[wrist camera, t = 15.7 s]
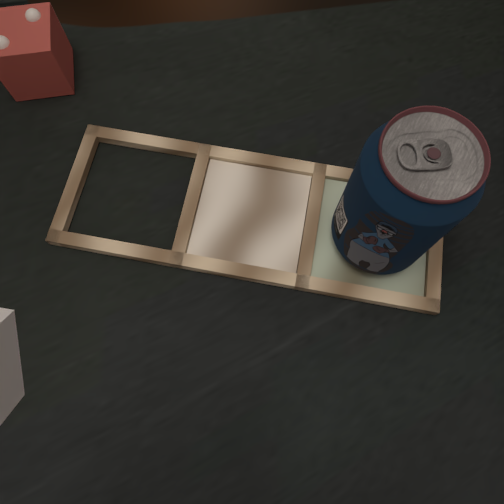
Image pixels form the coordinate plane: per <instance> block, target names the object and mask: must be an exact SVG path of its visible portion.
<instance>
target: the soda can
mask: <svg viewBox="0 0 504 504" xmlns="http://www.w3.org/2000/svg"><path fill="white" fill-rule="evenodd" d="M490 165H491V156H490V150H489V147H488V144H487V142H486V140H485V138H484V136H483V135H482V133H481V132H480V131H479V129H478V128H477V127H476V126H475V125H474V124H473V123H472V122H471V121H469V120H468V119H467V118H465V117H464V116H462V115H460V114H459V113H457V112H455V111H452V110H450V109H447V108H444V107H439V106H418V107H413V108H410V109H407V110H405V111H403V112H401V113H399V114H397V115H396V116H395V117H393V118H392V119H391V120H390V121H389V122H387V123H385V124H383V125H382V126H380V127H379V128H378V129H376V130H375V131H374V132H373V133H372V134H371V135H370V137H369V138H368V139H367V141H366V143H365V145H364V147H363V149H362V151H361V153H360V156H359V158H358V160H357V162H356V165H355V167H354V169H353V171H352V174H351V176H350V178H349V180H348V183H347V185H346V187H345V189H344V192H343V194H342V196H341V198H340V200H339V203H338V205H337V207H336V209H335V212H334V214H333V218H332V224H331V230H332V237H333V240H334V243H335V245H336V247H337V249H338V251H339V252H340V254H341V255H342V256H343V257H344V258H345V259H346V260H347V261H348V262H349V263H350V264H351V265H353V266H354V267H356V268H358V269H360V270H362V271H365V272H368V273H371V274H378V275H387V274H393V273H397V272H400V271H402V270H404V269H406V268H408V267H409V266H411V265H412V264H413V263H414V262H415V261H416V260H418V259H419V258H420V257H421V256H422V255H423V254H424V253H425V252H427V251H428V250H429V249H430V248H431V247H432V246H433V245H434V244H436V243H437V242H438V241H439V240H440V239H441V238H442V237H443V236H445V235H446V234H447V233H448V232H449V231H450V230H451V229H453V228H454V227H455V226H456V225H457V224H458V223H459V222H460V221H462V220H463V219H464V218H465V217H466V216H467V215H468V214H469V213H471V212H472V211H473V210H474V208H475V207H476V206H477V205H478V203H479V201H480V200H481V198H482V195H483V192H484V189H485V183H486V178H487V176H488V174H489V170H490Z"/></svg>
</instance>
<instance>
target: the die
mask: <svg viewBox="0 0 504 504" xmlns="http://www.w3.org/2000/svg"><path fill="white" fill-rule="evenodd" d="M0 81H1V82H2V83H3V85H4V86H5V87H6V89H7V90H8V91H9V93H10V94H11V95H12V97H13V98H14V99H15V101H16V102H17V101H25V100H33V99H41V98H49V97H56V96H64V95H72V94H75V92H74V66H73V49H72V47H71V45H70V43H69V41H68V38H67V36H66V34H65V32H64V30H63V28H62V26H61V24H60V22H59V20H58V18H57V16H56V14H55V12H54V10H53V8H52V6H51V4H50V2H46V3H37V4H28V5H19V6H11V7H2V8H0Z"/></svg>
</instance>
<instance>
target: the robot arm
mask: <svg viewBox="0 0 504 504" xmlns="http://www.w3.org/2000/svg"><path fill="white" fill-rule="evenodd" d="M24 395H25V393H24V385H23V377H22V369H21V361H20V353H19V344H18V336H17V328H16V320H15V312H14V310H11V309H5V308H0V425H1V424H2V423H3V421H4V420H5V419H6V418H7V416H8V415H9V414H10V413H11V411H12V410H13V409H14V408H15V406H16V405H17V404H18V402H19V401H20V400H21V399H22V397H23V396H24Z"/></svg>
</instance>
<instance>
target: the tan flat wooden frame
mask: <svg viewBox="0 0 504 504" xmlns="http://www.w3.org/2000/svg"><path fill="white" fill-rule="evenodd" d="M99 142H102V143H108V144H114V145H120V146H126V147H131V148H137V149H143V150H149V151H155V152H161V153H167V154H173V155H178V156H184V157H190V158H196V160H195V164H194V168H193V171H192V175H191V179H190V183H189V186H188V190H187V194H186V198H185V202H184V205H183V209H182V213H181V217H180V220H179V224H178V228H177V232H176V236H175V239H174V243H173V247H172V251H171V250H165V249H160V248H154V247H149V246H143V245H138V244H132V243H127V242H121V241H116V240H110V239H105V238H99V237H94V236H88V235H83V234H77V233H72V232H68V229H69V226H70V223H71V221H72V218H73V215H74V212H75V209H76V206H77V204H78V201H79V198H80V195H81V192H82V189H83V187H84V184H85V181H86V178H87V175H88V172H89V170H90V167H91V164H92V161H93V158H94V155H95V153H96V150H97V147H98V144H99ZM352 171H353V169H350V168H344V167H338V166H332V165H326V164H321V163H315V162H309V161H303V160H297V159H291V158H285V157H279V156H273V155H267V154H261V153H255V152H249V151H243V150H237V149H231V148H225V147H220V146H214V145H208V144H202V143H196V142H190V141H184V140H178V139H172V138H166V137H160V136H154V135H148V134H142V133H136V132H130V131H124V130H118V129H113V128H107V127H101V126H95V125H89V124H88V126H87V129H86V132H85V134H84V137H83V140H82V142H81V145H80V148H79V151H78V153H77V156H76V159H75V161H74V164H73V167H72V170H71V172H70V175H69V178H68V181H67V183H66V186H65V189H64V191H63V194H62V197H61V200H60V202H59V205H58V208H57V210H56V213H55V216H54V219H53V221H52V224H51V227H50V229H49V232H48V235H47V238H46V240H45V241H47V242H48V243H49V244H51V245H57V246H62V247H68V248H73V249H78V250H84V251H89V252H95V253H100V254H106V255H111V256H116V257H122V258H127V259H133V260H138V261H144V262H149V263H154V264H160V265H165V266H171V267H176V268H182V269H187V270H192V271H198V272H203V273H209V274H214V275H220V276H225V277H230V278H236V279H241V280H247V281H252V282H258V283H263V284H268V285H274V286H279V287H285V288H290V289H296V290H301V291H306V292H312V293H317V294H323V295H328V296H334V297H339V298H344V299H350V300H355V301H361V302H366V303H372V304H377V305H383V306H388V307H393V308H399V309H404V310H410V311H415V312H421V313H426V314H431V315H437V314H439V313H440V295H441V274H442V253H443V237H442V238H441V239H440V240H439V241H438V242H437V243H436V244H434V245H433V246H432V247H431V248H430V249H429V250H428V251H427V252H425V253H424V254H423V255H422V256H421V257H420V258H419V259H418V260H416V261H415V262H414V263H413V264H412V265H411V266H409V267H408V268H406V269H404V270H402V271H400V272H397V273H393V274H387V275H378V274H371V273H368V272H365V271H362V270H360V269H358V268H356V267H354V266H353V265H351V264H350V263H349V262H348V261H347V260H346V259H345V258H344V257H343V256H342V255H341V254H340V252H339V251H338V249H337V247H336V245H335V243H334V240H333V237H332V230H331V224H332V218H333V214H334V212H335V209H336V207H337V205H338V203H339V200H340V198H341V196H342V194H343V192H344V189H345V187H346V185H347V183H348V180H349V178H350V176H351V174H352ZM311 178H312V180H311ZM310 184H311V186H310ZM309 190H310V192H309ZM308 196H309V198H308ZM307 202H308V205H307ZM306 209H307V211H306ZM305 215H306V217H305ZM304 221H305V223H304ZM303 227H304V229H303ZM302 233H303V236H302ZM301 240H302V242H301ZM300 246H301V248H300ZM299 252H300V254H299ZM298 258H299V260H298ZM297 264H298V267H297ZM296 270H297V273H296Z"/></svg>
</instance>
